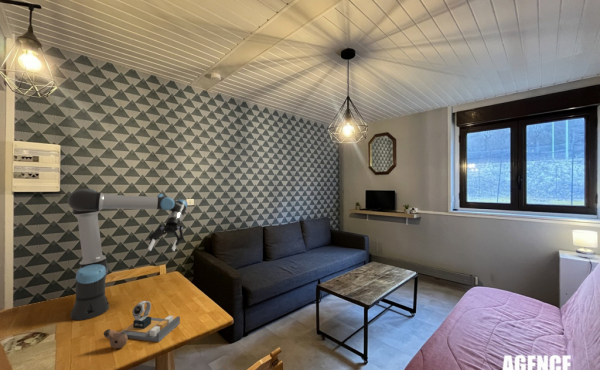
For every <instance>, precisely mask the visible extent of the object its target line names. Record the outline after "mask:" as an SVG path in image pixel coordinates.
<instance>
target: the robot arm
mask: <svg viewBox="0 0 600 370" xmlns="http://www.w3.org/2000/svg"><path fill="white" fill-rule="evenodd" d="M67 205H68V207H70V208H71V209H72V215H73V216H74V217H77V224H78V231H79V232H78V233H79V234H78V235H79V240H80V241H79V242H80V248H81V255H82V256H81V257H82V260H80V262H79V269H78V270H77V271H76V275H75V302H74V304H73V308H72V310H71V312H70V319H71V320H74V321H83V320H88V319H92V318H96V317H98V316H101V315H102V314H105V313H106V312H107V311H108V310H109V309H110V304H109V301H108V298H107V296H106V279H107V276H108V273H109V265H108V261H107V257H106V256H105V255H103V248H102V241H101V240H102V239H101V232H100V224H99V216H98V214H100V212H101V210H103V209H104V210H105V209H106V210H107V209H109V210H111V209H113V210H117V209H119V210H130V209H131V210H164V211H170V212H171V213H170V214H169V217H168V219H167V220H166V223H165V225H164V226H163V225H161V224H160V225H159V227H158V228H157V229H156V230H155V231H153V232H152V233H151V234H150V235H149V236H148V239H149V240H150V241H149V242H148V244H149V245H148V247H147V249H148V251H149V252H151V251H152V249H153V248H154V245H155V244H156V242H157V241H156V240H158V239H159V238H161V237H163V235H166V234H174V236H175V237H176V239H174V243H173V245H172V247H171V250H172V252H175V250H176V249H177V246H179V244H180V242H181V241H184V240H185V238H184V232H183V228H184V227H183V226H182V225H180V224H181V222H182V219H183V217H184V215H185V212H186V211H187V208H188V202H187V201H186V200H185V199H182V198H181V199H177V200H176V199H173V198H172V197H170V196H167V195H165V194H163V193H159V194H157V196H145V195H143V196H142V195H126V194H125V195H122V194H121V195H120V194H119V195H118V194H104V193H103V192H98V191H95V190H94V189H91V188H82V189H81V188H80V189H76V190H74V191H73V192H71V193H70V194H69V196H68V198H67ZM177 230H178V231H179V234H178V233H177V232H176V231H177Z"/></svg>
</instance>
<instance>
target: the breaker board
mask: <svg viewBox="0 0 600 370" xmlns="http://www.w3.org/2000/svg"><path fill="white" fill-rule="evenodd" d="M180 323H181V317H180V316H176V317H175V318H174V315H168V316H167V317H165V318H161V317H160V318H157V317H151V324H150V325H149V326H147V327H146V328H145V329H140V328H133V323H131V325H129V326H127V327H126V328H124V329H123V330H121V331H122V332H125V333H126V335H127V338H128V339H131V340H141V341H148V342H153V343H154V342H156V343H159V342H161V341H162V340H163V339H164V338H165V337H167V336H168V335H169V334H170V333H171V332H172V331H174V329H176V328H177V327H178V326H180Z"/></svg>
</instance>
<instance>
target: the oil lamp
mask: <svg viewBox="0 0 600 370" xmlns="http://www.w3.org/2000/svg"><path fill="white" fill-rule="evenodd" d="M122 331H123V330H121V331H120V330H119V331H116V330H114V329H109V328H108V329H106V330H105V331H103V336H104V338H107V339H108V341H109V345H110V347H111V348H114V349H121V348H123V347H125V346H126V345H127V343H128V340H129V338H127V335H126V333H125V332H122Z"/></svg>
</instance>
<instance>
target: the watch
mask: <svg viewBox="0 0 600 370" xmlns="http://www.w3.org/2000/svg"><path fill="white" fill-rule="evenodd" d="M151 309H152V303H151V302H150V301H149V300H142V301H140V302H138V303H137V304H136V305H134V307H133V309H132V316H133V323H132V324H133V328H140V329H145V328H146V327H147V326H149V325H150V324H151V318H152V317H151V316H149V315H150V313H151Z"/></svg>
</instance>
